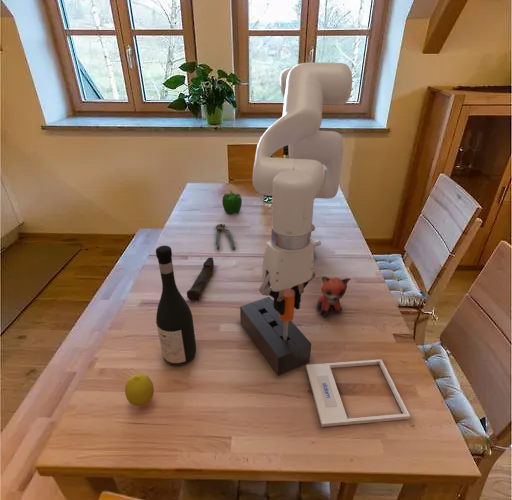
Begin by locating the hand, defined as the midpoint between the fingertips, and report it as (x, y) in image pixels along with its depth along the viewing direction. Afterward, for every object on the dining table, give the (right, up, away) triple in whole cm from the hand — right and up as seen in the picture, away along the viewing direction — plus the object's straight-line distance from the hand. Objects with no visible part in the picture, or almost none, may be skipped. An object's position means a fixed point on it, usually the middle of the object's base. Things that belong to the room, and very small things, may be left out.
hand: (286, 307), depth 78 cm
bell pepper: (-17, +29, +77) cm, 84 cm away
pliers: (-19, +17, +58) cm, 63 cm away
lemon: (-31, -20, -3) cm, 37 cm away
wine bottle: (-25, -13, +8) cm, 29 cm away
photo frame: (+14, -18, -1) cm, 23 cm away
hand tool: (-24, +2, +33) cm, 41 cm away
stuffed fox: (+14, -4, +23) cm, 27 cm away
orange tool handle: (0, -10, +6) cm, 12 cm away
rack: (-3, -10, +12) cm, 16 cm away
